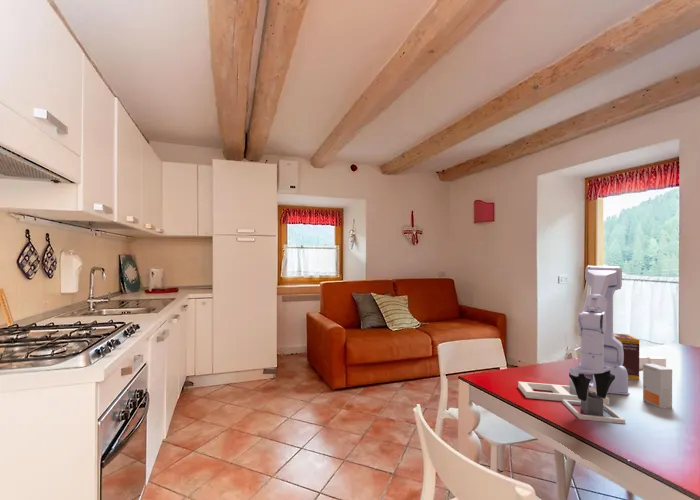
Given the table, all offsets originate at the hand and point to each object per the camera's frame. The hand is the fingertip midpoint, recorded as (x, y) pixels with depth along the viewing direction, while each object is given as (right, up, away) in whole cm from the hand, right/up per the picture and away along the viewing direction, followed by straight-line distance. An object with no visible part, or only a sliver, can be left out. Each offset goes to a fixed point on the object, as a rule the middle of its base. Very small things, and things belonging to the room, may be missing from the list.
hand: (591, 398), depth 103 cm
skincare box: (+26, -5, +7) cm, 27 cm away
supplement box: (+34, -6, +37) cm, 51 cm away
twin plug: (+4, -5, +11) cm, 13 cm away
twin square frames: (-2, -4, +12) cm, 13 cm away
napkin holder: (+55, -7, +45) cm, 72 cm away
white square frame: (0, -4, 0) cm, 4 cm away
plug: (0, -4, 0) cm, 4 cm away
